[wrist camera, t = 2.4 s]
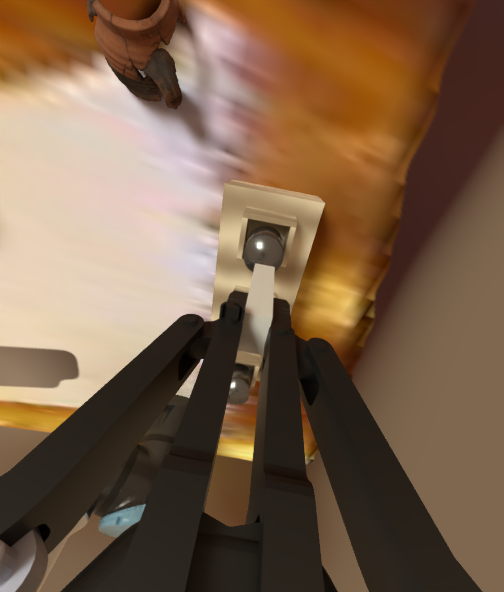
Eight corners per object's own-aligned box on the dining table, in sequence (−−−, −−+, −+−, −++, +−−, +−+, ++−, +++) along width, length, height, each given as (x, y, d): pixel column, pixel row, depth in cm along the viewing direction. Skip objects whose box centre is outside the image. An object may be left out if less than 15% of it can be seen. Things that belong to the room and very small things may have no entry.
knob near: (278, 262, 28) (278, 278, 25) (245, 255, 28) (240, 270, 25) (286, 229, 26) (287, 241, 23) (250, 222, 26) (246, 233, 23)
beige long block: (270, 359, 49) (268, 399, 41) (213, 348, 49) (200, 386, 41) (317, 196, 33) (330, 208, 25) (232, 179, 33) (217, 186, 25)
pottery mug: (96, 55, 28) (46, -40, 20) (163, 17, 29) (141, -89, 21) (159, 145, 29) (135, 90, 21) (221, 106, 30) (222, 39, 22)
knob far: (249, 382, 40) (246, 406, 36) (225, 378, 40) (220, 401, 36) (253, 366, 38) (250, 389, 34) (228, 361, 38) (222, 384, 34)
